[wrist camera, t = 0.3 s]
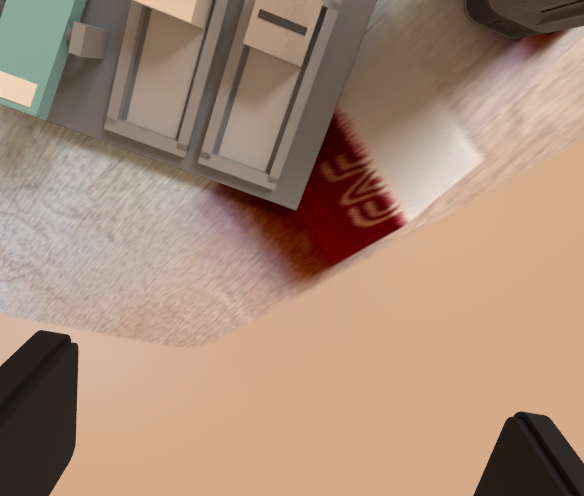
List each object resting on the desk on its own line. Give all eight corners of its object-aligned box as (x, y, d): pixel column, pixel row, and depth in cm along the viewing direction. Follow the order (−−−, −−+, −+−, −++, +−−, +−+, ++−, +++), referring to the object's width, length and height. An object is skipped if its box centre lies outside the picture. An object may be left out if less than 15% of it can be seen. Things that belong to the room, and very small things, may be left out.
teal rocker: (39, -69, 31) (28, -84, 30) (105, -42, 32) (97, -56, 30) (-16, 98, 31) (-31, 92, 30) (50, 122, 32) (39, 117, 30)
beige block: (267, -11, 32) (262, -24, 28) (320, 11, 33) (323, 1, 28) (250, 47, 34) (242, 43, 29) (301, 67, 34) (301, 66, 30)
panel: (40, -143, 31) (-11, -187, 26) (376, -3, 34) (389, -18, 29) (6, 101, 37) (-42, 105, 32) (296, 205, 39) (295, 224, 34)
